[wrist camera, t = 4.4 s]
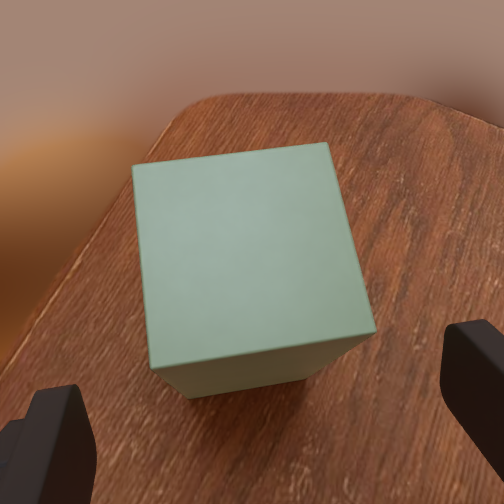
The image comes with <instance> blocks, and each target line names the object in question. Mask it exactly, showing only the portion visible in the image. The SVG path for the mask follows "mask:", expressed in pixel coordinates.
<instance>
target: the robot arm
mask: <svg viewBox="0 0 504 504" xmlns="http://www.w3.org/2000/svg"><path fill="white" fill-rule="evenodd" d="M440 389H441V393H442V396H443V399H444V401H445V403H446V405H447V407H448V408H449V410H450V411H451V412H452V414H453V415H454V416H455V418H456V419H457V420H458V422H459V423H460V424H461V426H462V427H463V429H464V430H465V431H466V433H467V434H468V435H469V437H470V438H471V439H472V441H473V442H474V443H475V445H476V446H477V447H478V449H479V450H480V451H481V453H482V454H483V455H484V457H485V458H486V459H487V461H488V462H489V463H490V465H491V466H492V467H493V469H494V470H495V471H496V473H497V474H498V475H499V477H500V478H501V479H502V481H503V482H504V335H503V334H502V333H500V332H499V331H498V330H497V329H496V328H495V327H494V326H493V325H492V324H490V323H489V322H488V321H486V320H484V319H479V320H473V321H467V322H461V323H455V324H450V325H448V326H447V327H446V330H445V334H444V343H443V352H442V361H441V371H440ZM96 465H97V452H96V443H95V439H94V435H93V432H92V428H91V425H90V422H89V418H88V415H87V412H86V408H85V405H84V402H83V398H82V395H81V392H80V389H79V387H78V386H77V385H76V384H73V385H66V386H60V387H54V388H48V389H42V390H37V391H36V392H35V394H34V396H33V398H32V401H31V403H30V406H29V409H28V411H27V414H26V416H25V418H24V419H18V420H13V421H10V422H9V423H8V424H7V425H6V426H5V427H4V428H3V430H2V431H1V432H0V504H90V501H91V496H92V490H93V485H94V479H95V473H96Z"/></svg>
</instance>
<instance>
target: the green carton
mask: <svg viewBox="0 0 504 504" xmlns="http://www.w3.org/2000/svg"><path fill="white" fill-rule="evenodd" d="M131 171H132V182H133V193H134V203H135V214H136V225H137V236H138V246H139V257H140V268H141V279H142V290H143V300H144V311H145V322H146V333H147V344H148V354H149V365H150V369H151V370H152V371H153V372H154V373H156V374H157V375H158V376H159V377H161V378H162V379H163V380H164V381H166V382H167V383H168V384H170V385H171V386H172V387H173V388H175V389H176V390H177V391H178V392H180V393H181V394H182V395H183V396H185V397H186V398H187V399H193V398H198V397H204V396H210V395H216V394H222V393H228V392H233V391H239V390H245V389H251V388H257V387H262V386H268V385H274V384H280V383H286V382H292V381H297V380H303V379H307V378H308V377H310V376H311V375H313V374H314V373H316V372H317V371H319V370H320V369H322V368H323V367H325V366H326V365H328V364H329V363H331V362H332V361H334V360H336V359H337V358H339V357H340V356H342V355H343V354H345V353H346V352H348V351H349V350H351V349H352V348H354V347H355V346H357V345H358V344H360V343H362V342H363V341H365V340H366V339H368V338H369V337H371V336H372V335H374V334H375V333H376V332H377V330H376V326H375V322H374V318H373V314H372V310H371V307H370V303H369V299H368V295H367V291H366V287H365V284H364V280H363V276H362V272H361V268H360V264H359V261H358V257H357V253H356V249H355V245H354V241H353V238H352V234H351V230H350V226H349V222H348V218H347V215H346V211H345V207H344V203H343V199H342V196H341V192H340V188H339V184H338V180H337V176H336V173H335V169H334V165H333V161H332V157H331V153H330V150H329V146H328V143H327V142H322V143H314V144H305V145H297V146H288V147H280V148H272V149H263V150H255V151H246V152H238V153H230V154H221V155H213V156H204V157H196V158H188V159H179V160H171V161H162V162H154V163H146V164H137V165H132V167H131Z"/></svg>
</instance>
